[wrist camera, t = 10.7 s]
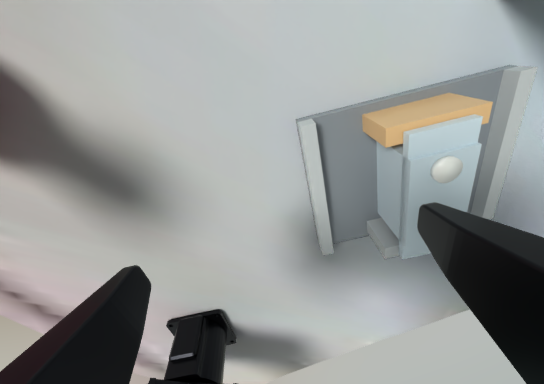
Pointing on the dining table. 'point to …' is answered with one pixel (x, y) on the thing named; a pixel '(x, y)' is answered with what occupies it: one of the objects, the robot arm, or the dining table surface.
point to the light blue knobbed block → (426, 176)
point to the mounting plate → (389, 132)
